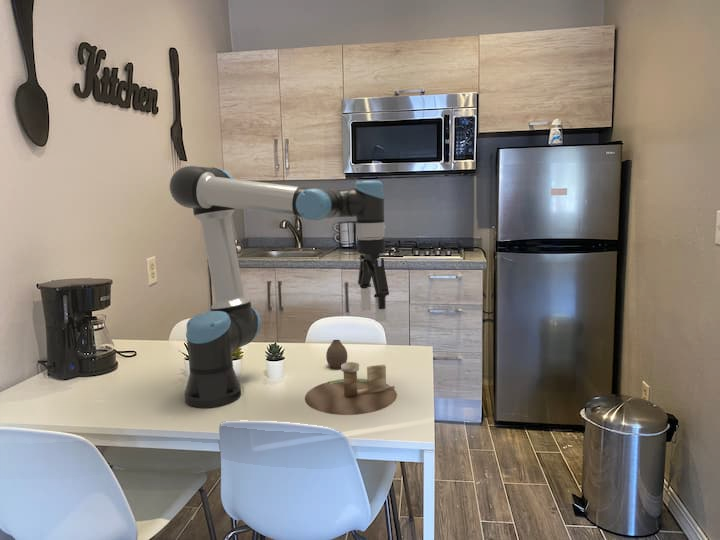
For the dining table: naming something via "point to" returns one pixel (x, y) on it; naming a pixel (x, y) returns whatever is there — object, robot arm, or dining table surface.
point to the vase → (336, 354)
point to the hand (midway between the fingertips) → (373, 315)
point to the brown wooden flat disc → (348, 398)
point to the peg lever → (374, 379)
